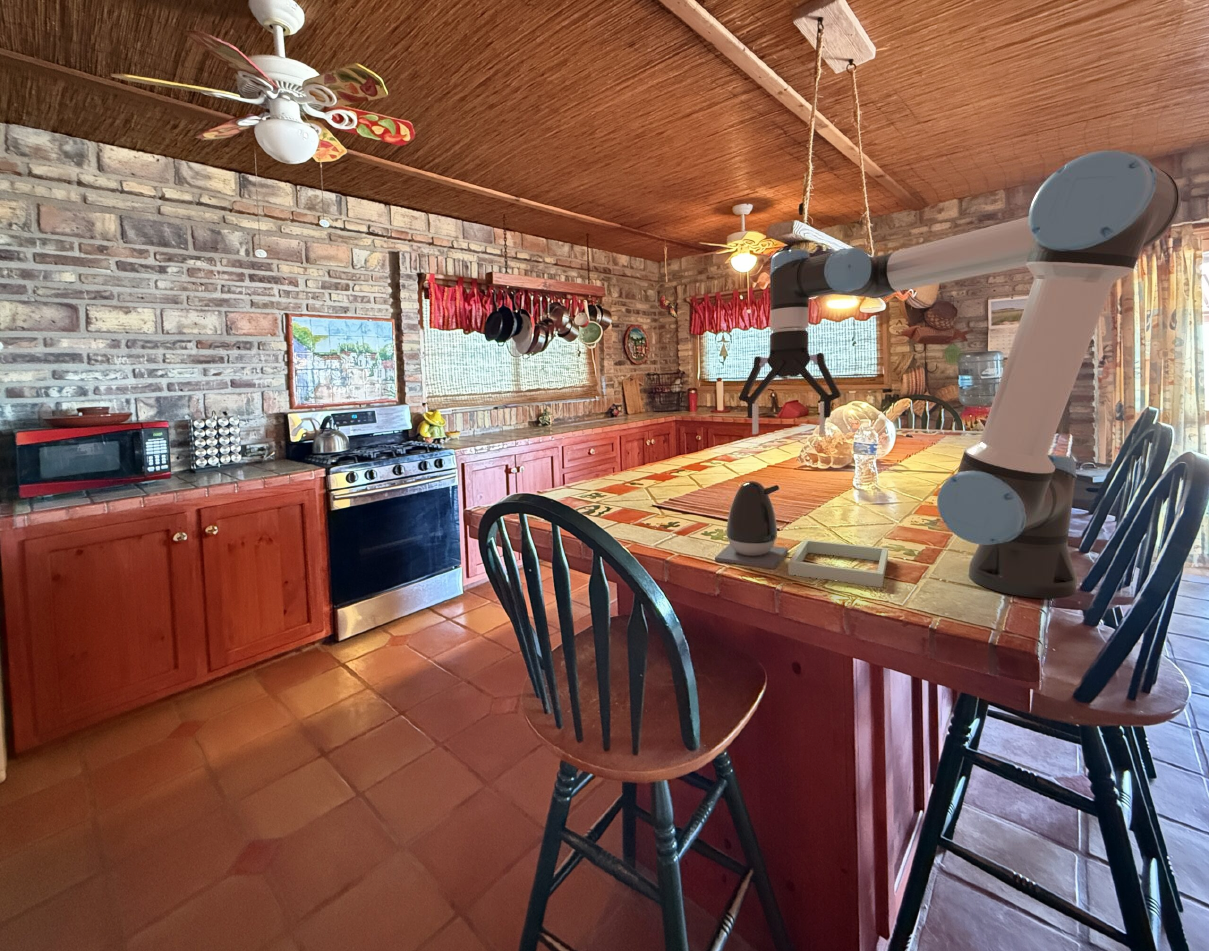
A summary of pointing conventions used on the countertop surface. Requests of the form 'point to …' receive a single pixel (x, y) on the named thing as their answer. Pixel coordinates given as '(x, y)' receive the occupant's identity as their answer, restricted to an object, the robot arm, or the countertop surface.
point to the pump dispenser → (752, 520)
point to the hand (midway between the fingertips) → (787, 433)
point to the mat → (753, 557)
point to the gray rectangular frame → (836, 572)
